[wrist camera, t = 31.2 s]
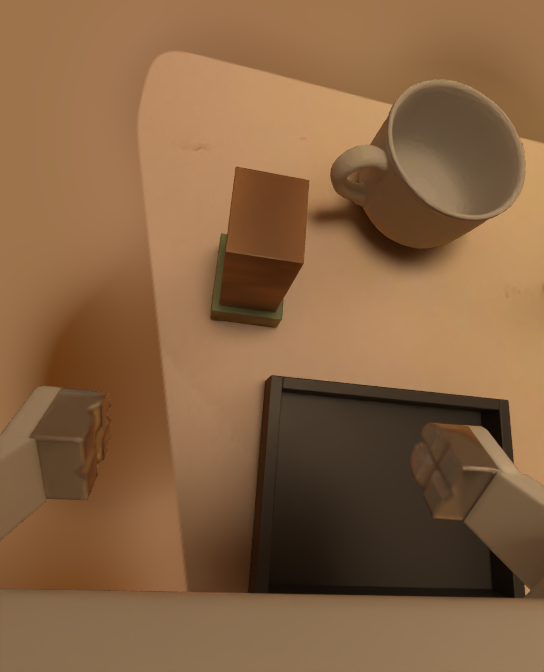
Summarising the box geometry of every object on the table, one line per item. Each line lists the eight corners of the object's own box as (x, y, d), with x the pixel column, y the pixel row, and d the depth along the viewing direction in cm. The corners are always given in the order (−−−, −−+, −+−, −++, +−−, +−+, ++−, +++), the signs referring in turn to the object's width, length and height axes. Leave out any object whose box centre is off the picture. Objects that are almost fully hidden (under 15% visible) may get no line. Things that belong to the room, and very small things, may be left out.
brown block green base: (210, 319, 28) (213, 259, 19) (219, 246, 30) (227, 156, 20) (276, 327, 29) (313, 274, 19) (282, 255, 30) (318, 173, 21)
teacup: (450, 162, 36) (516, 88, 28) (467, 269, 33) (546, 219, 25) (306, 146, 33) (337, 61, 26) (312, 260, 31) (348, 202, 23)
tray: (247, 594, 24) (252, 612, 22) (265, 380, 28) (271, 375, 25) (497, 599, 27) (527, 616, 24) (483, 402, 30) (508, 400, 28)
